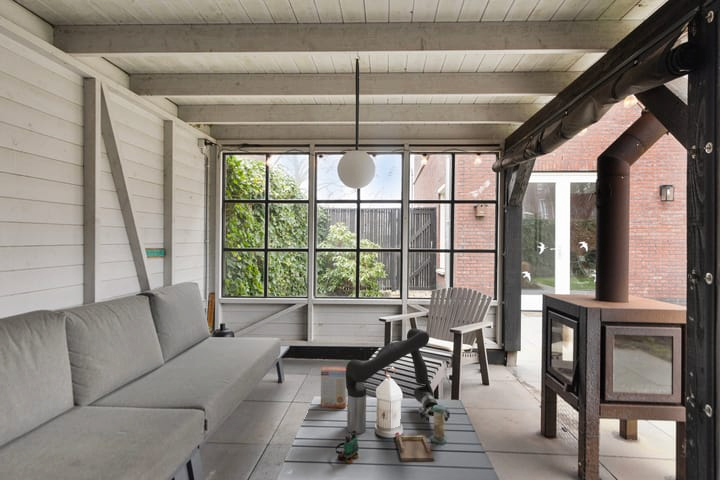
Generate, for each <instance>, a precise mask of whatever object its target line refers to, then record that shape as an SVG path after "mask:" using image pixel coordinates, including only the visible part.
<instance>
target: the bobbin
mask: <svg viewBox="0 0 720 480" xmlns="http://www.w3.org/2000/svg"><path fill="white" fill-rule="evenodd" d="M446 408H447V407H446V406H444V405H441V404H438V405H434V406H433V411H434V416H433V434H432V435H431V436H430V441H431V442H432V443H434V444H437V445H444V444H446V443H447V437H446V436H445V420H444V412H445V411H446Z"/></svg>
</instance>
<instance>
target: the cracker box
mask: <svg viewBox="0 0 720 480" xmlns="http://www.w3.org/2000/svg"><path fill="white" fill-rule="evenodd" d="M347 405H348V391H347V388H346V367H339V366H337V367H336V366H335V367H333V366H322V368H321V370H320V407H321V408H336V409H346V407H347Z"/></svg>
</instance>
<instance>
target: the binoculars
mask: <svg viewBox="0 0 720 480" xmlns="http://www.w3.org/2000/svg"><path fill="white" fill-rule="evenodd" d="M350 434H351V436H348V435H346V436H344V437H345V440H346V441H344V442H340V443H338V444H337V445H336V446H335V453H336V454H338V455H337V459H338V460H345V461H346V463H347V464H352V463H353V462H354V461H353V459H358V458H359V453H358V452H359V449H360V448H359V441H358V436H357V434H356V431H352V432H350ZM341 446H343V450H338V448H339V447H341Z"/></svg>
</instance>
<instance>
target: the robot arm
mask: <svg viewBox="0 0 720 480" xmlns="http://www.w3.org/2000/svg"><path fill="white" fill-rule="evenodd" d="M429 341H430V334H429V333H428V332H427V331H426V330H423V329H418V328H410V329H409V330H408V331H407V334H406V339H404V340H403V339H402V340H398V341H394V342H391V343H388V344H387V345H385V346H383V347H381V348H380V349H379V350H378V352H377V353H376V356H375V357H373V358H372V359H370V360H369V361H365V362H363V361H361V360H358V359H351V360H350V361H348V363H347V365H346V367H345V368H346V388H347V404H346V407H347V409H346V413H347V414H346V416H347V417H346V418H347V419H346V432H347V433H351V432H352V431H356V435H358V434H361V433H362V434H363V433H364V432H366V430H367V387H366V386H365V384H364V383H363V382H366V381H367V380H369V379H370V378H372V377H373V376H374V375H376V374H377V373H379V371H381V370H384V369H386V367H388V366H390V365H393V364H394V363H396V362H397V361H399V360H400V359H402V358H404V357H406V356H407V355H409V354H410V356H411V359H412V363H413V364H412V365H413V368H414V376H415V378H414V379H415V382H416V383H417V384H419V385H424V386H417V387H415V388H414V390H413V395H414V398H415V399H416V401H418V403H421V405H422V406H421V407H419V409H418V414H419V417H420V418H422V419H423V418H424V419H425V421H427V422H428V423H429V422H430V417H434V411H433V406H434V405H439V404H438V402H437V401H436V399H435V397H434V390H433V388H432V386H431V382H430V381H429V373H428V368H427V365H426V362H425V360H424V358H423V355H422V354H421V351H420V349H423V348H424V347H426V346H427V345H428V343H429ZM445 408H446V411H445V412H444V422H448V421H449V418H450V417H451V416H450V415H451V414H450V411H449V409H448V408H447V407H445Z"/></svg>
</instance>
